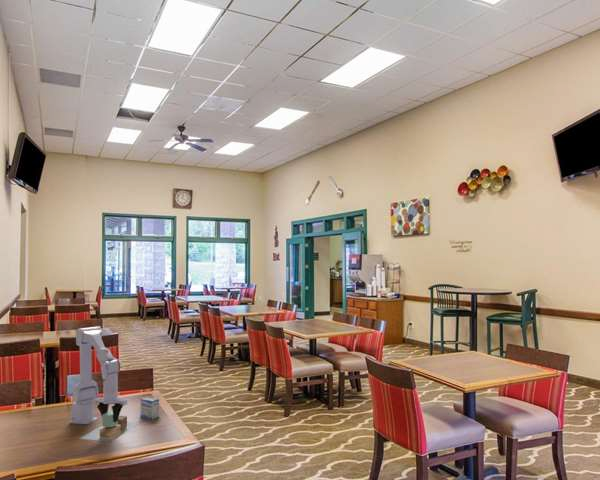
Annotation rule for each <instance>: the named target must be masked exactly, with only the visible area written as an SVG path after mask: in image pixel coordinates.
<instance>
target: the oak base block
mask: <svg viewBox="0 0 600 480" xmlns="http://www.w3.org/2000/svg"><path fill="white" fill-rule="evenodd" d="M120 433H121V425H119V424H116V425H115V426H113V427H102V428H100V437H102V438H114V437H115V436H117V435H118V434H120Z"/></svg>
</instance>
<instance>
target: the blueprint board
mask: <svg viewBox="0 0 600 480" xmlns="http://www.w3.org/2000/svg"><path fill="white" fill-rule="evenodd" d="M138 424H140V421H138V422H137V421H128V420H127V428H126V429H124V430H123V431H121V433H120V434H118V435H117V436H115V437H114V438H102V437H100V428H102V425H100V426H99V427H97V428H95V429H93V430H91V431H90V432H88V433H86V434H85V435H84V436H82V437H80V438H79V440H88V441H101V442H114V441H115V440H116V439H118V438H119V437H121V436H122V435H123V434H125V433H126V432H128V431H129V430H131V429H132V428H133V427H135V426H137V425H138Z"/></svg>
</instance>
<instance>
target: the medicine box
mask: <svg viewBox="0 0 600 480" xmlns="http://www.w3.org/2000/svg"><path fill="white" fill-rule="evenodd" d="M140 417H141V418H144V419H148V420H149V419H150V420H154V419H156V418H159V417H160V399H158V398H154V397H151V396H146V397H142V398H141V399H140Z"/></svg>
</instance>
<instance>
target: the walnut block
mask: <svg viewBox="0 0 600 480" xmlns="http://www.w3.org/2000/svg"><path fill="white" fill-rule="evenodd" d="M127 421H128V416H127V415H119V417H118V424H119V425H121V431H123V430H124V429H126V428H127Z"/></svg>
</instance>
